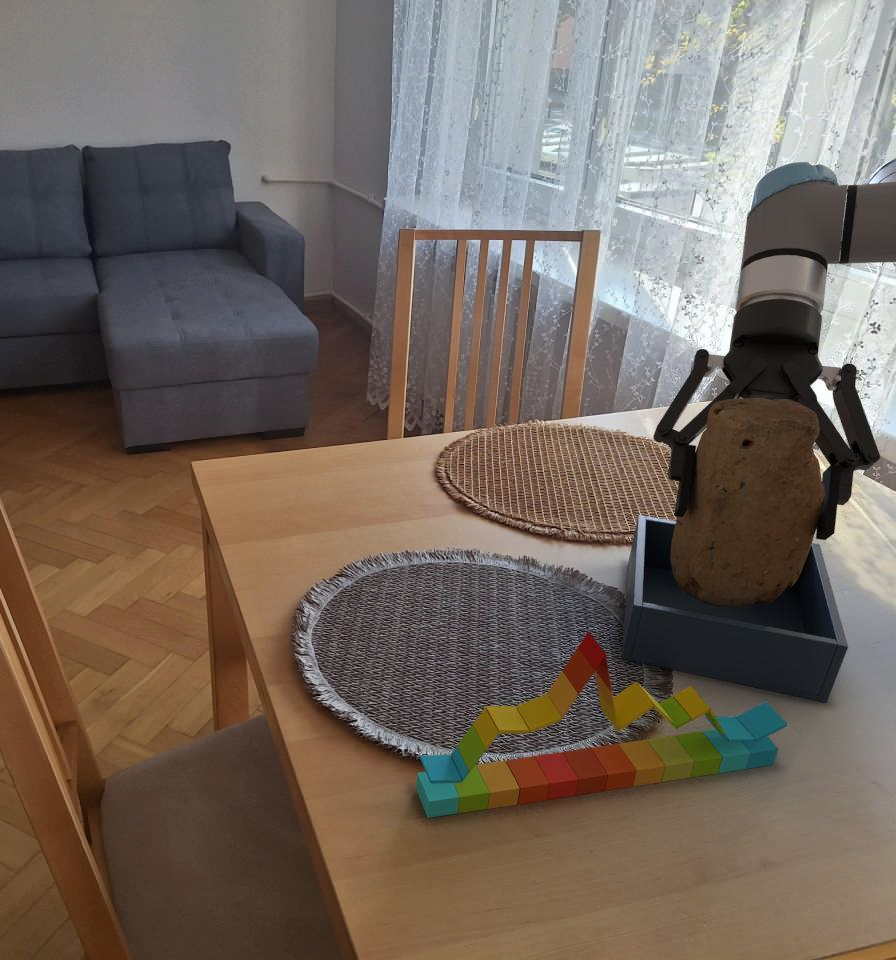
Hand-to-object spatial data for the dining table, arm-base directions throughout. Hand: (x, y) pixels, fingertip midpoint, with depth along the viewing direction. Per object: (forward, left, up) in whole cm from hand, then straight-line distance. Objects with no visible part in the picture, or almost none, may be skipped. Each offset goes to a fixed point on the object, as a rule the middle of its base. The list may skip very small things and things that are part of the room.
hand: (750, 524), depth 80 cm
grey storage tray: (0, -3, -14) cm, 14 cm away
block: (0, -3, -9) cm, 10 cm away
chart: (+10, +23, -14) cm, 28 cm away
